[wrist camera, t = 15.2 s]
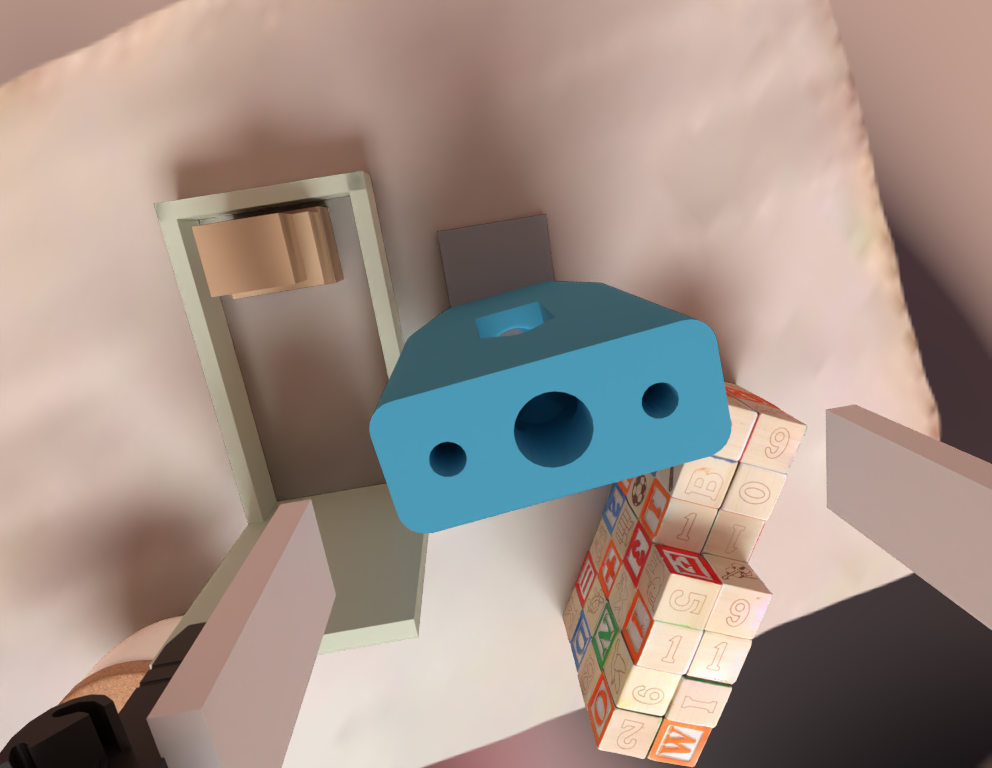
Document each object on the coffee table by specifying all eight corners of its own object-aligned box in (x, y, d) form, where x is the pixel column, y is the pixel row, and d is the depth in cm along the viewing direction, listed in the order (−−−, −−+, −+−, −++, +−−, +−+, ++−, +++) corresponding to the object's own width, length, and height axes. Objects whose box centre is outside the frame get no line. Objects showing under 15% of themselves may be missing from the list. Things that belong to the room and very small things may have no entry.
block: (586, 269, 39) (712, 312, 19) (602, 342, 40) (735, 449, 21) (409, 319, 39) (361, 410, 20) (431, 390, 40) (406, 539, 21)
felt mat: (473, 434, 42) (473, 436, 41) (437, 231, 38) (436, 231, 38) (571, 418, 42) (572, 420, 41) (544, 214, 38) (545, 214, 38)
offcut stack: (251, 294, 38) (203, 309, 31) (232, 222, 37) (177, 221, 30) (343, 279, 38) (316, 291, 31) (327, 207, 37) (296, 202, 30)
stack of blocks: (656, 359, 41) (735, 413, 29) (737, 383, 42) (847, 444, 30) (561, 618, 46) (596, 754, 34) (635, 635, 47) (695, 773, 35)
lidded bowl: (297, 724, 47) (250, 869, 36) (131, 724, 46) (33, 874, 35) (292, 583, 44) (239, 698, 33) (114, 581, 43) (1, 698, 32)
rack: (266, 516, 42) (155, 683, 27) (177, 205, 37) (-27, 189, 21) (432, 488, 42) (418, 637, 27) (370, 174, 37) (306, 137, 21)
